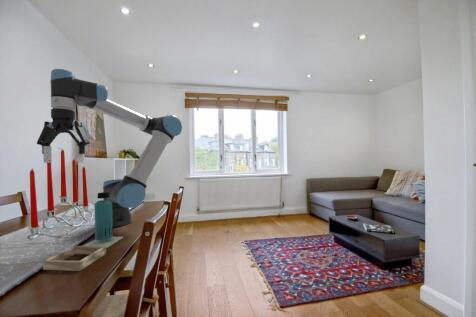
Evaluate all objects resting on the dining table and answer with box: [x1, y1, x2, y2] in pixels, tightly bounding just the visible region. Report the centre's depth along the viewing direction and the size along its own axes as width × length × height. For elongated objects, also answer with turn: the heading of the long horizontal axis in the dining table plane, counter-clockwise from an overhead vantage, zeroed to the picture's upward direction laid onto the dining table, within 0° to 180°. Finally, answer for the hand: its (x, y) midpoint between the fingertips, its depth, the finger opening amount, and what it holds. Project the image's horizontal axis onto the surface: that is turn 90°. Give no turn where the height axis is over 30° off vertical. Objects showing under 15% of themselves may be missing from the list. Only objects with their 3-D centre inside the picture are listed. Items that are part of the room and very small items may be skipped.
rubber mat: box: [83, 236, 124, 249], centre depth 89 cm, size 11×10×1 cm
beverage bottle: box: [93, 191, 114, 241], centre depth 89 cm, size 6×7×20 cm
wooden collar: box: [42, 245, 107, 272], centre depth 73 cm, size 12×12×2 cm
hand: (63, 162), depth 88 cm, fingers open, 13 cm apart
